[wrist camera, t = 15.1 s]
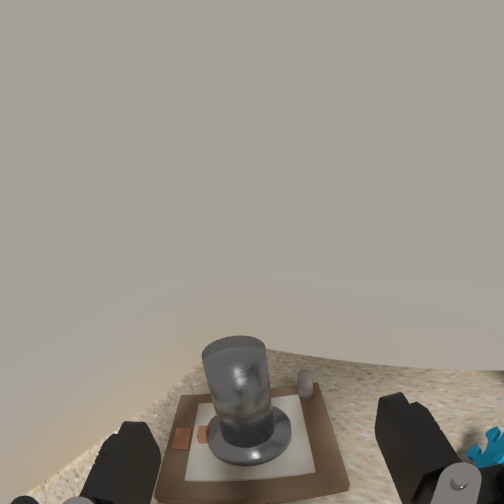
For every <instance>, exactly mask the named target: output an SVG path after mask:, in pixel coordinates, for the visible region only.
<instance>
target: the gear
mask: <svg viewBox="0 0 504 504" xmlns="http://www.w3.org/2000/svg"><path fill="white" fill-rule="evenodd" d="M500 435H501V432H500V430H499V429H498V427H497V426H496V427H494V428H492V429H490V430H489V431H487V432H486V437H487V439H488V444H487V447H486V450H485V452H484V453H483V454H481V452H482V451H481V449H480V448H479V446H478V445H474V446H473V447H472V448H470V449H469V450H468V451H467V452H466V455H467V457H468V458H469V459H470V460H471V461H475V467H476V468H484V467H489V466H493V465H497V464H502V463H504V433H503V434H502V436H501V437H500ZM499 437H500V438H499ZM498 438H499V439H498ZM497 439H498V440H497Z"/></svg>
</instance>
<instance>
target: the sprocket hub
mask: <svg viewBox="0 0 504 504" xmlns="http://www.w3.org/2000/svg"><path fill="white" fill-rule="evenodd" d="M202 360H203V365H204V369H205V373H206V377H207V381H208V385H209V389H210V393H211V397H212V401H213V405H214V408H215V412H216V415H215V416H214V417H213V418H212V419H211V420H210V422H209V424H208V426H198V432H197V440H198V442H199V444H208V446H209V448H210V450H211V452H212V453H213V454H214V456H216V457H217V458H218V459H220V460H221V461H223V462H225V463H228V464H231V465H235V466H243V467H244V466H256V465H261V464H264V463H267V462H269V461H271V460H273V459H275V458H277V457H278V456H279V455H281V454H282V453H283V452H284V451H285V450H286V448H287V447H288V445H289V443H290V440H291V435H292V434H291V423H290V420H289V418H288V416H287V415H286V414H285V413H284V412H283V411H282V410H280V409H279V408H277V407H275V406H272V399H271V391H270V383H269V375H268V366H267V358H266V350H265V345H264V343H263V342H262V341H260V340H259V339H256V338H254V337H250V336H231V337H226V338H222V339H219V340H217V341H214V342H212V343H211V344H209V345H208V346H207V347H206V348H205V349H204V350H203V352H202Z"/></svg>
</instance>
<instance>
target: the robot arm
mask: <svg viewBox="0 0 504 504" xmlns="http://www.w3.org/2000/svg"><path fill="white" fill-rule="evenodd" d="M375 436H376V440H377V443H378V445H379V447H380V450H381V452H382V455H383V457H384V459H385V462H386V464H387V467H388V469H389V472H390V474H391V477H392V479H393V482H394V484H395V487H396V489H397V492H398V494H399V497H400V499H401V502H402V504H504V463H502V464H497V465H493V466H489V467H484V468H476V467H475V466H474V465H472V464H469V463H463V462H462V461H461V460H460V459H459V457H458V456H457V454H456V452H455V451H454V449H453V448H452V446H451V444H450V443H449V441H448V440H447V438H446V436H445V435H444V433H443V432H442V430H440V427H439V425H438V424H437V422H436V421H435V419H434V418H433V416H432V415H431V413H430V412H429V410H428V409H427V408H425V407H424V406H422V405H421V404H419V403H418V402H414V403H411V404H409V402H408V401H407V399H406V398H405V396H404V394H403V393H402V392H398V393H395V394H391V395H387V396H384V397H380V399H379V402H378V409H377V416H376V422H375ZM160 463H161V454H160V449H159V447H158V445H157V443H156V441H155V439H154V437H153V435H152V433H151V431H150V429H149V427H148V425H147V424H146V423H145V422H130V421H125V422H123V423H122V425H121V428H120V430H119V432H118V434H112V435H111V436H110V437H109V438H108V439H107V440H106V441H105V442H104V443H103V445H102V447H101V449H100V451H99V455H98V456H97V458H96V460H95V464H93V466H92V469H91V471H90V473H89V475H88V478H87V480H86V482H85V484H84V487H83V489H82V491H81V493H80V495H79V496H78V497H72V498H69V499H68V500H66V501H65V502H64V503H63V504H150V502H151V498H152V494H153V490H154V486H155V482H156V478H157V475H158V471H159V467H160ZM11 504H39V503H38V502H37V501H36V500H35V499H34V498H32V497H30V496H19V497H17V498H16V499H14V500H13V501H12V503H11Z"/></svg>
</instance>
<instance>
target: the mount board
mask: <svg viewBox="0 0 504 504" xmlns="http://www.w3.org/2000/svg"><path fill="white" fill-rule="evenodd" d="M297 377H298V385H297V386H290V387H283V388H275V389H270V391H271V399H272V406H275V407H277V408H279V409H280V410H282V411H283V412H284V413H285V414H286V415H287V416H288V418H289V420H290V423H291V434H292V435H291V440H290V443H289V445H288V447H287V448H286V450H285V451H284V452H283V453H282V454H281V455H279V456H278V457H277V458H275V459H273V460H271V461H269V462H267V463H264V464H261V465H256V466H244V467H243V466H235V465H231V464H228V463H225V462H223V461H221V460H220V459H218V458H217V457H216V456H214V454H213V453H212V452H211V450H210V448H209V446H208V444H199V442H198V440H197V432H198V426H208V424H209V422H210V420H211V419H212V418H213V417H214V416H215V415H216V412H215V408H214V405H213V401H212V397H211V394H204V395H181V398H180V401H179V405H178V408H177V412H176V416H175V419H174V423H173V427H172V430H171V434H170V438H169V441H168V445H167V449H166V453H165V456H164V460H163V464H162V468H161V472H160V476H159V480H158V484H157V487H156V491H155V495H154V496H155V498H156V499H157V501H158V502H159V503H169V504H265V503H276V502H285V501H293V500H301V499H307V498H313V497H319V496H325V495H330V494H335V493H340V492H344V491H348V490H349V485H350V483H349V480H348V477H347V473H346V470H345V467H344V464H343V460H342V457H341V454H340V451H339V448H338V444H337V441H336V438H335V435H334V432H333V428H332V425H331V422H330V419H329V416H328V413H327V410H326V407H325V403H324V400H323V397H322V394H321V391H320V388H319V385H318V382H316V383H313V373H312V372H311V371H310V370H302V371H300V372H298V374H297Z"/></svg>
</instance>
